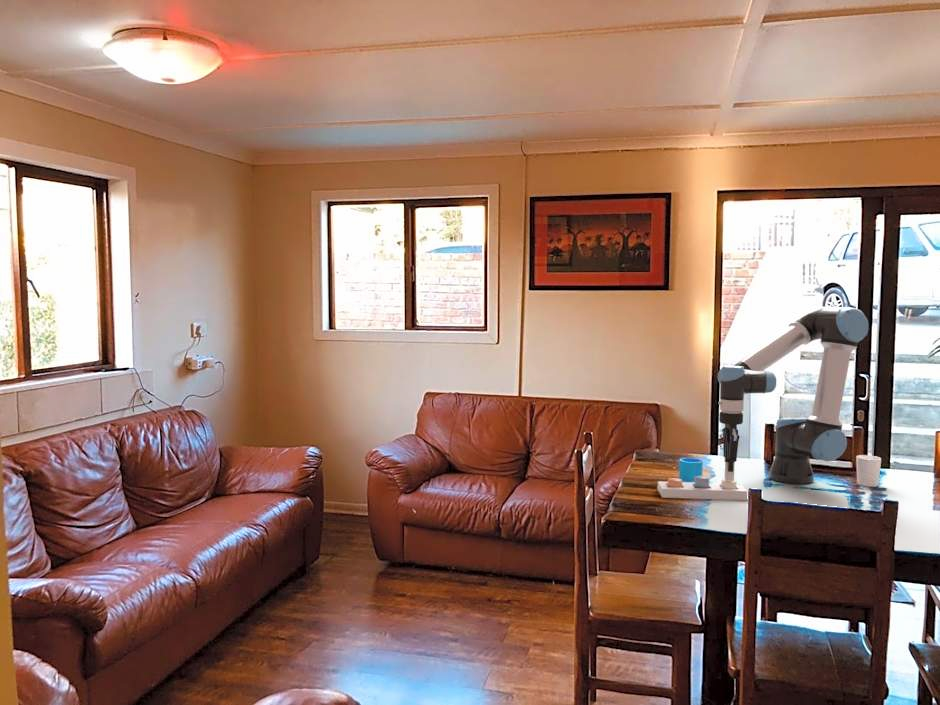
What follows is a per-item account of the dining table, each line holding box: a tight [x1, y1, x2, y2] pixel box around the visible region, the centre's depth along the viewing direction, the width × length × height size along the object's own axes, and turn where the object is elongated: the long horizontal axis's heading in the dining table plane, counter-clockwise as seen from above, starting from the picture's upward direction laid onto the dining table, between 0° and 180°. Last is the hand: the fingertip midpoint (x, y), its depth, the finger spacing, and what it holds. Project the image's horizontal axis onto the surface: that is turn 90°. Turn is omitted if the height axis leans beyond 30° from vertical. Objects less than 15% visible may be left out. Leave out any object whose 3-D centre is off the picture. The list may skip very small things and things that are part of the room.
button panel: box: [657, 480, 748, 501], centre depth 251 cm, size 28×10×3 cm, turn 84°
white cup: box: [855, 454, 882, 488], centre depth 265 cm, size 8×8×10 cm
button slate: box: [694, 475, 710, 488], centre depth 251 cm, size 5×5×4 cm
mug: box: [678, 457, 704, 482], centre depth 270 cm, size 12×8×8 cm
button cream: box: [721, 479, 738, 489], centre depth 250 cm, size 5×5×4 cm
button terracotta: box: [667, 477, 682, 488], centre depth 252 cm, size 5×5×4 cm
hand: (729, 480), depth 250 cm, fingers closed
